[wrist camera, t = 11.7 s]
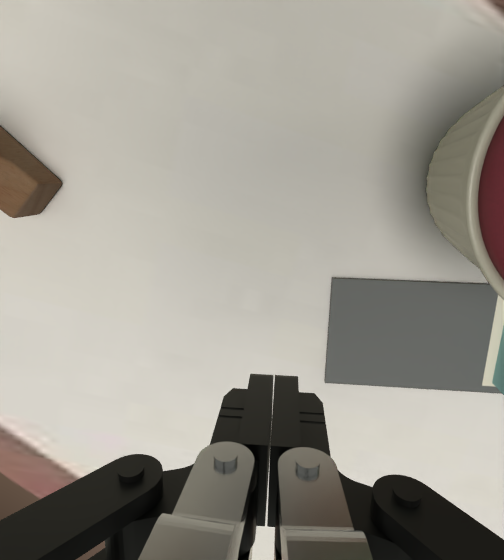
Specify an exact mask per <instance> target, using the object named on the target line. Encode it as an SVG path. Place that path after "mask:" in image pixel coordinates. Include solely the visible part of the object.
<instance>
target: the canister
mask: <svg viewBox="0 0 504 560" xmlns="http://www.w3.org/2000/svg"><path fill="white" fill-rule="evenodd" d="M426 178H427V187H426V192H427V203H428V205H429V208H430V214H431V215H432V216H433V218H434V221H435V225H436V226H437V227H438V228H439V229H440V230H441V233H442V235H443V236H444V237H445V238H446V239H447V240H448V241H449V242H450V243H451V244H452V245H453V246H454V247H455V248H456V249H457V250H458V251H460V252H461V253H462V254H463V255H464V256H465V257H466V258H467V259H469V260H470V261H471V262H472V263H473V264H475V265H476V266H477V267H478V268H480V270H481V272H482V273H483V275H484V277H485V278H486V280H487V281H488V283H489V284H490V285H491V287H492V288H493V289H494V290H495V292H496V293H497V294H498V295H499V296H500V297H501V298H502V299H503V300H504V86H503V87H501V88H500V89H498V90H497V91H495V92H494V93H492V94H491V95H490V96H488V97H487V98H486V99H484V100H483V101H482V102H480V103H479V104H478V105H476V106H475V107H474V108H472V109H471V110H470V111H468V112H467V113H466V114H464V115H463V116H462V117H461V118H460V119H459V120H458V121H457V123H456V124H455V125H453V126H452V127H451V128H450V129H449V130H448V132H447V134H446V135H445V137H444V138H443V139H441V141H440V143H439V146H438V148H437V150H436V151H435V152H434V154H433V158H432V161H431V163H430V164H429V172H428V175H427V177H426Z"/></svg>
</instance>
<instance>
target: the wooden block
mask: <svg viewBox="0 0 504 560" xmlns="http://www.w3.org/2000/svg"><path fill="white" fill-rule="evenodd" d="M61 185H62V182H61V181H60V180H59V179H58V178H57V177H56V176H55V175H54V174H53V173H51V172H50V171H49V170H48V169H47V168H46V167H45V166H44V165H43V164H42V163H40V162H39V161H38V160H37V159H36V158H35V157H34V156H33V155H32V154H30V153H29V152H28V151H27V150H26V149H25V148H24V147H23V146H22V145H21V144H19V143H18V142H17V141H16V140H15V139H14V138H13V137H12V136H11V135H9V134H8V133H7V132H6V131H5V130H4V129H3V128H2V127H1V126H0V210H2V211H3V212H4V213H6V214H7V215H8V216H10V217H12V218H18V217H24V216H31V215H37V214H39V213H41V211H42V210H43V209H44V208H45V206H46V205H47V204H48V202H49V201H50V200H51V198H52V197H53V196H54V194H55V193H56V192H57V190H58V189H59V188H60V187H61Z"/></svg>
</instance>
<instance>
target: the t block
mask: <svg viewBox="0 0 504 560" xmlns="http://www.w3.org/2000/svg"><path fill="white" fill-rule="evenodd" d="M492 383H493V384H494V385H495V386H496V387H497V388H498V389H499V390H500V392H501V393H502V394H503V395H504V326H503V331H502V336H501V341H500V346H499V351H498V356H497V361H496V366H495V371H494V375H493V380H492Z"/></svg>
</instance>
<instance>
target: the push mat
mask: <svg viewBox="0 0 504 560" xmlns="http://www.w3.org/2000/svg"><path fill="white" fill-rule="evenodd" d="M503 326H504V300H503V299H502V298H501V297H500V296H499V295H498V294H497V293H496V292H495V290H494V289H493V288H492V287H491V285H490V284H479V283H455V282H430V281H405V280H380V279H356V278H332V285H331V299H330V313H329V327H328V341H327V355H326V369H325V383H336V384H353V385H369V386H386V387H402V388H419V389H435V390H452V391H469V392H485V393H501V392H500V390H499V389H498V388H497V387H496V386H495V385H494V384H493V383H492V380H493V375H494V371H495V366H496V361H497V356H498V351H499V346H500V341H501V336H502V331H503Z"/></svg>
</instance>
